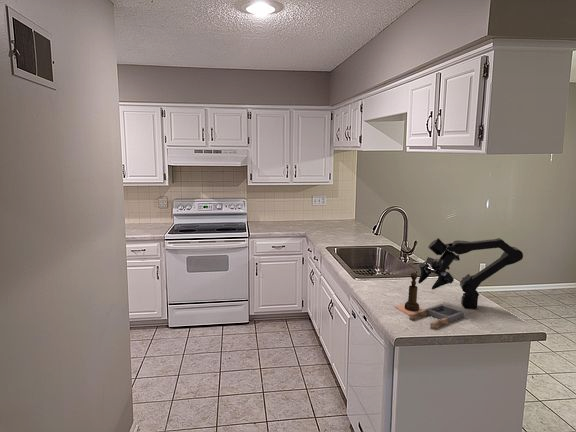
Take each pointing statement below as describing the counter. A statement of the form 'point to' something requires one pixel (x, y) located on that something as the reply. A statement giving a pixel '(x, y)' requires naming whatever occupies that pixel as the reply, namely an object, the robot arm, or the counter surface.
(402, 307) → the terracotta tile
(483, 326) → the counter surface
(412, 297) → the wooden pepper mill
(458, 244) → the robot arm
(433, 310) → the charcoal box
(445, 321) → the walnut channel
